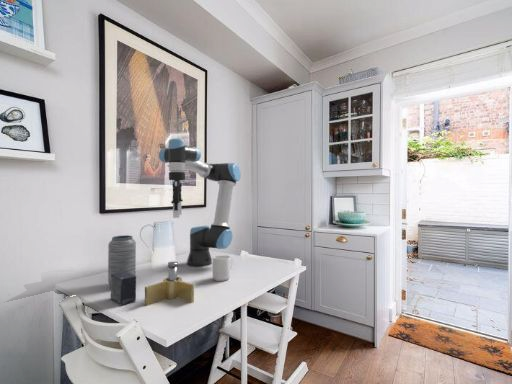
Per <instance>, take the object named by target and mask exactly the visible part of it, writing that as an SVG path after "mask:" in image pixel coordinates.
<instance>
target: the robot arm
mask: <svg viewBox="0 0 512 384" xmlns="http://www.w3.org/2000/svg"><path fill="white" fill-rule="evenodd" d="M201 157H202V152H201V150H200V149H199V148H197V147H195V146H189V145H186V142H185V140H184V139H182V138H181V139H179V138H171V139H169V140H168V146H167V147H166V148H161V149H160V150H159V151H158V159H159V160H160V162H161V163H166V164H167V163H168V164H167V167H168V171H169V172H168V180H169V181H173V182H172V200H171V202H170V203H171V204H172V218H174V219H177V218H180V215H181V216H182V202H183V200H184V199H182V182H181V181H186V170H188V171H191V172H193V173H196V174H198V175H199V176H200V177H201V178H204V179H205V180H209V181H212V182H217V184H218V185H219V186H218V192H217V200H216V206H215V212H214V220H213V222H212V223H211V225H210V226H209V225H200V226H194V227H191V228H190V231H189V254H188V257H187V259H186V265H187V266H190V267H205V266H209V265H212V264H213V258H212V256H211V252H210V249H217V250H224V249H227V248H229V246H230V245H231V244H232V240H233V231H232V230H231V227H230V225H229V219H230V211H231V205H232V204H231V203H232V197H233V196H232V195H233V190H234V187H235V186H236V184H237V182H239V181H240V179H241V169H240V167H239V165H238V164H237V163H236V162H227V163H226V162H225V163H209V162H202V161H201V160H200V159H201Z"/></svg>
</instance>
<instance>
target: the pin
mask: <svg viewBox="0 0 512 384" xmlns="http://www.w3.org/2000/svg"><path fill="white" fill-rule="evenodd" d="M178 265H179V264H178V261H168V262H167V268H168V270H167V271H168V273H167V274H168V281H175V280H177V277H178Z"/></svg>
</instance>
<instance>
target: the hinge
mask: <svg viewBox="0 0 512 384" xmlns="http://www.w3.org/2000/svg"><path fill="white" fill-rule="evenodd" d="M166 299H167V300H172V299H173V300H174V299H179V300H182V301H185V302H188V303H191V304H192V303H194V301H195V284H194V283H190V282H187V281H183V280H182V277H181V276H177V280H175V281H168V277H164V278H163V280H162V281H161V282H160V281H159V282H157V283H154V284H150V285H147V286H144V305H145V306H150V305H153V304H155V303H159V302H160V301H163V300H166Z"/></svg>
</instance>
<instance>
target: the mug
mask: <svg viewBox="0 0 512 384" xmlns="http://www.w3.org/2000/svg"><path fill="white" fill-rule="evenodd" d="M233 259H234V258H233V257H230V255H222V254H221V255H219V254H218V255H214V256H213V257H212V279H213V280H214V281H215V282H225V281H228V280H229V279H230V278H231V271H232V269H233V264H234V263H233Z"/></svg>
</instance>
